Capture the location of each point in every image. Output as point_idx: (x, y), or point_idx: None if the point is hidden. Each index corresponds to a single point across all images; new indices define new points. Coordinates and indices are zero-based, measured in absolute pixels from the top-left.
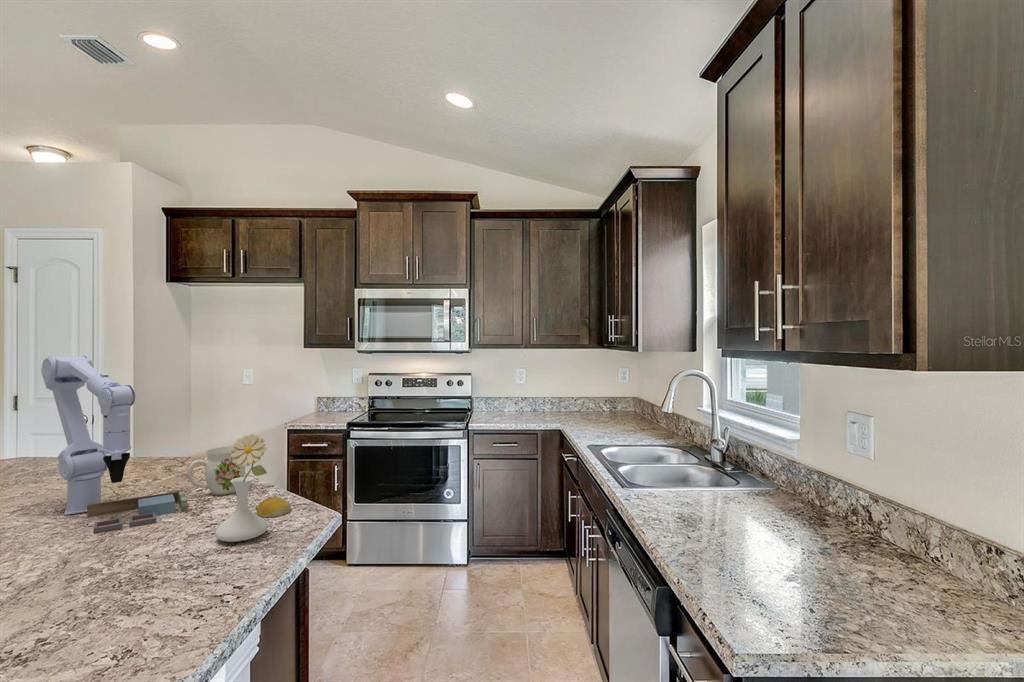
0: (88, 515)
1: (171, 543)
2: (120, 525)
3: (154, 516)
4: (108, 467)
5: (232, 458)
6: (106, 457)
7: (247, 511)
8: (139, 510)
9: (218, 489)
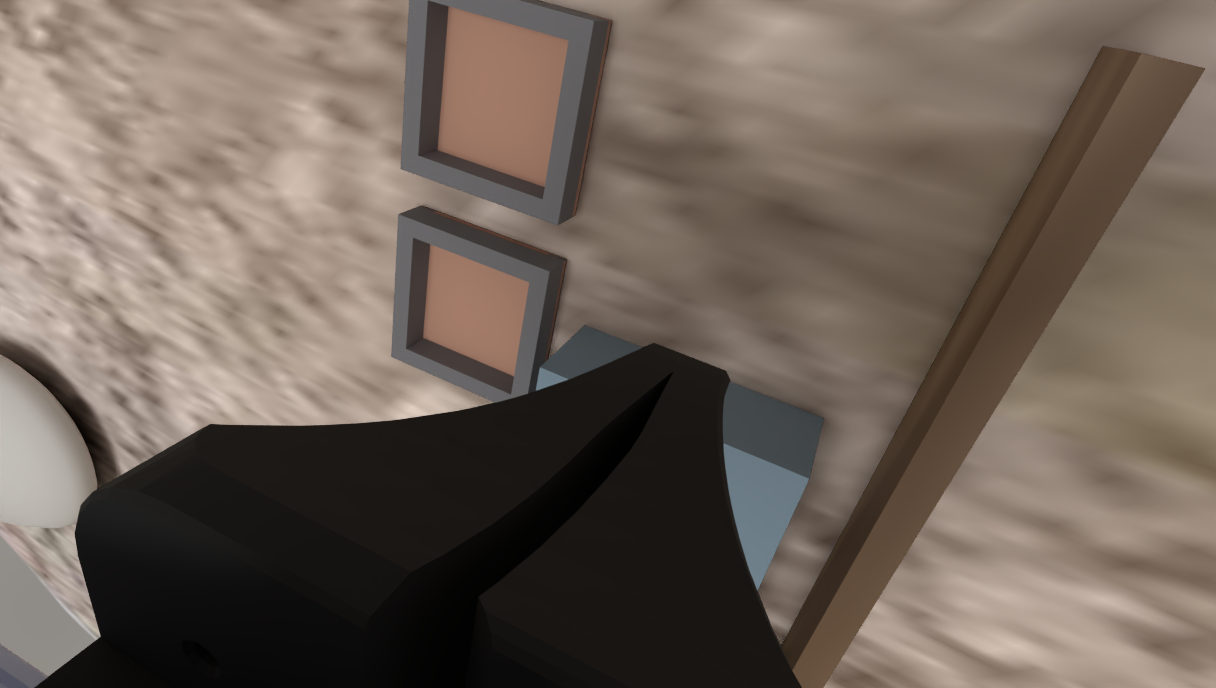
0: (1100, 61)
1: (71, 238)
2: (407, 157)
3: (430, 367)
4: (424, 425)
5: None
6: (197, 597)
7: None
8: (554, 355)
9: None
